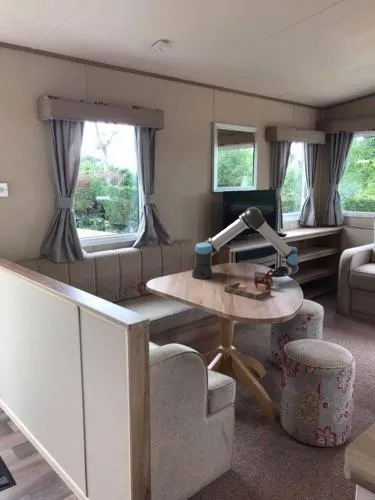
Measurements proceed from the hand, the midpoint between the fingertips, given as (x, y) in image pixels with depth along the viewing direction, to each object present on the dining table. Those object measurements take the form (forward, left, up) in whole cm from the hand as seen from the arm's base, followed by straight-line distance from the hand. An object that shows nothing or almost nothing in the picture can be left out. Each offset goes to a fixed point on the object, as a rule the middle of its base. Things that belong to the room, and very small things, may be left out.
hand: (266, 276), depth 270 cm
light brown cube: (-4, -24, -5) cm, 25 cm away
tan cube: (+3, -10, -7) cm, 13 cm away
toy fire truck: (0, -3, -7) cm, 8 cm away
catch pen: (0, -21, -7) cm, 23 cm away
